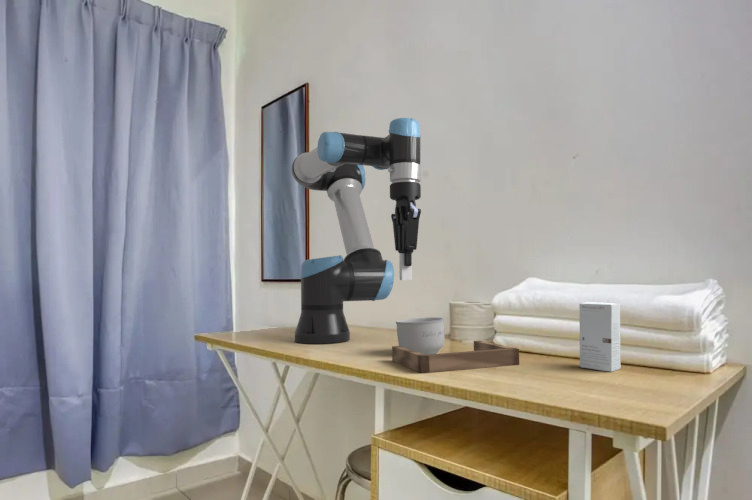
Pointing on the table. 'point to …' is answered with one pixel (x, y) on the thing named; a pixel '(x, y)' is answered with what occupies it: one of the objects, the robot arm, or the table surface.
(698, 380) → the table surface
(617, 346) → the skincare box
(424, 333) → the teacup
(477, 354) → the brown wooden tray
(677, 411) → the table surface
